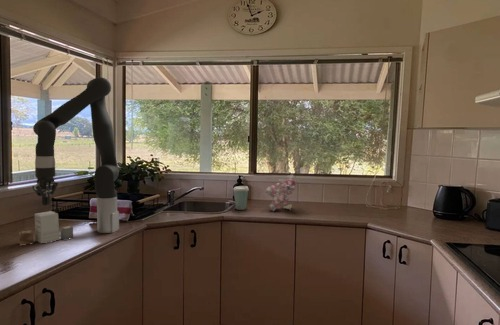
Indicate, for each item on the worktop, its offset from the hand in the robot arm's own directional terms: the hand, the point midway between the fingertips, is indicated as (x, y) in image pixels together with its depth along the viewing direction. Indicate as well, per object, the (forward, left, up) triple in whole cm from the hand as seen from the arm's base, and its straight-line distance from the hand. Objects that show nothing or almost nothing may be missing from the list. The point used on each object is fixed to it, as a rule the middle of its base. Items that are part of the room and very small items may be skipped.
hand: (46, 204), depth 148 cm
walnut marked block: (+6, +5, -17) cm, 18 cm away
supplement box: (0, 0, -17) cm, 17 cm away
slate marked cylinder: (-6, -5, -17) cm, 18 cm away
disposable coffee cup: (-74, -85, -17) cm, 114 cm away
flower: (-100, -88, -17) cm, 134 cm away
